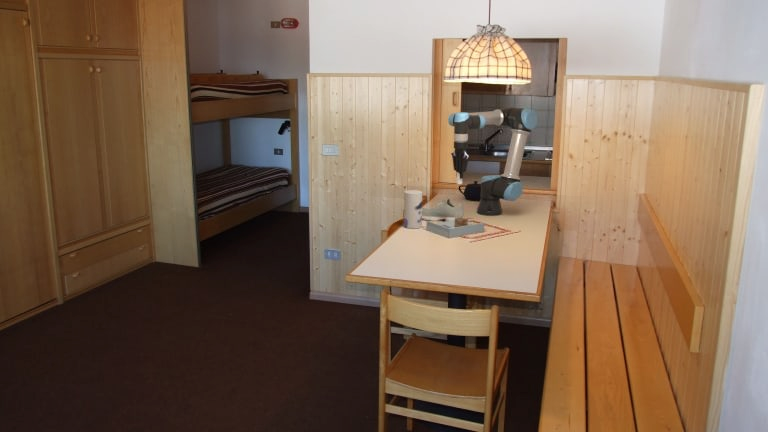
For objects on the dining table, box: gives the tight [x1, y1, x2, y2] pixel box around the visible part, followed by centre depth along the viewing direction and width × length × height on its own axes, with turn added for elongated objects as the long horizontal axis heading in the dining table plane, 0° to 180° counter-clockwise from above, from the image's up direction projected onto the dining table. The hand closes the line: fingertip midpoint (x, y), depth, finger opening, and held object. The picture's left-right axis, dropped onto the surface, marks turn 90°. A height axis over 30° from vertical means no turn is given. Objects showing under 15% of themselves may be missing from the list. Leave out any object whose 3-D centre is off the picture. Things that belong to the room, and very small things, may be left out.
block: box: [455, 216, 469, 227], centre depth 355 cm, size 5×5×5 cm
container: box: [403, 189, 423, 229], centre depth 367 cm, size 10×10×20 cm
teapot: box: [458, 180, 481, 202], centre depth 439 cm, size 25×16×12 cm, turn 67°
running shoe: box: [422, 198, 465, 222], centre depth 383 cm, size 11×30×14 cm, turn 65°
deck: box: [426, 220, 485, 239], centre depth 360 cm, size 24×20×5 cm
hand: (459, 184), depth 364 cm, fingers closed
